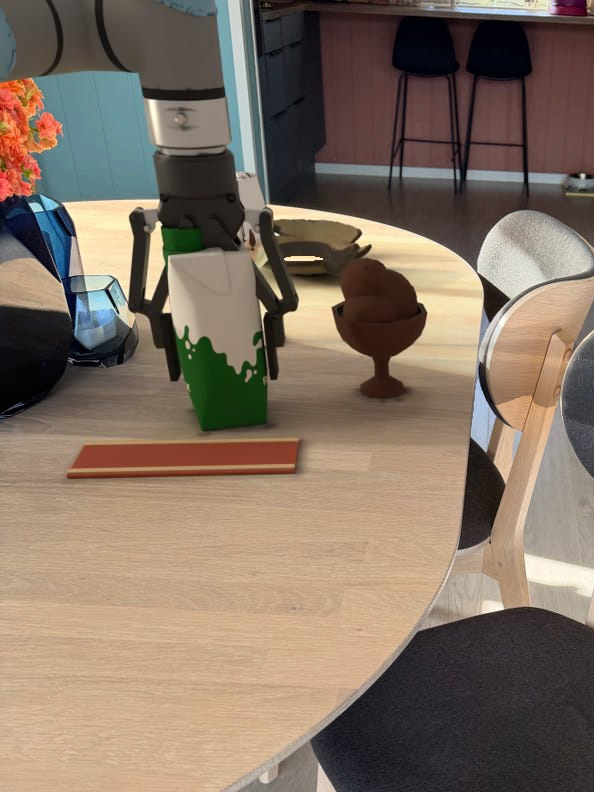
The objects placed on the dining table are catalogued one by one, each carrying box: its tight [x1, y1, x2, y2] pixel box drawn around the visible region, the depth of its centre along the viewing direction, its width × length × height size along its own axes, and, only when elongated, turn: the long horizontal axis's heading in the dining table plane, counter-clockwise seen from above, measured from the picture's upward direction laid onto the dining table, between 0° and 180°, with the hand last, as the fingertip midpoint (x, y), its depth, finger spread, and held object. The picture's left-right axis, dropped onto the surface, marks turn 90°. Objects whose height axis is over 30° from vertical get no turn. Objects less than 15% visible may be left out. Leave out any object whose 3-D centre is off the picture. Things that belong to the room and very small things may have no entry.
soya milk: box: [160, 224, 269, 431], centre depth 98 cm, size 9×9×20 cm
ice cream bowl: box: [330, 257, 428, 399], centre depth 107 cm, size 11×11×15 cm
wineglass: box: [236, 171, 268, 348], centre depth 119 cm, size 8×8×20 cm
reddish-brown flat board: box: [66, 437, 300, 479], centre depth 95 cm, size 22×8×1 cm, turn 95°
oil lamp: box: [262, 218, 373, 277], centre depth 150 cm, size 22×30×8 cm
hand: (225, 376), depth 101 cm, fingers open, 10 cm apart
